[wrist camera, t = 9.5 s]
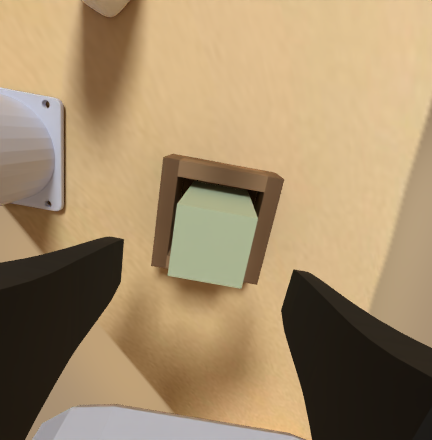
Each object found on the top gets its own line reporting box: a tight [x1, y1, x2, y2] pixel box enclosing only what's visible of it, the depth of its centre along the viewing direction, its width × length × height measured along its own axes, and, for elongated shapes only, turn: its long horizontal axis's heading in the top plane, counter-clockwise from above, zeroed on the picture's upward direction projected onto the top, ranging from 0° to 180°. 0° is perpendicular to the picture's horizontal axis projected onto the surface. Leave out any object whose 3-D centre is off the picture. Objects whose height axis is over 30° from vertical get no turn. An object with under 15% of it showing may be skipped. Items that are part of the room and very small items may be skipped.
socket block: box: [151, 154, 284, 285], centre depth 19 cm, size 8×8×3 cm
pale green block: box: [168, 181, 258, 289], centre depth 17 cm, size 4×4×7 cm
